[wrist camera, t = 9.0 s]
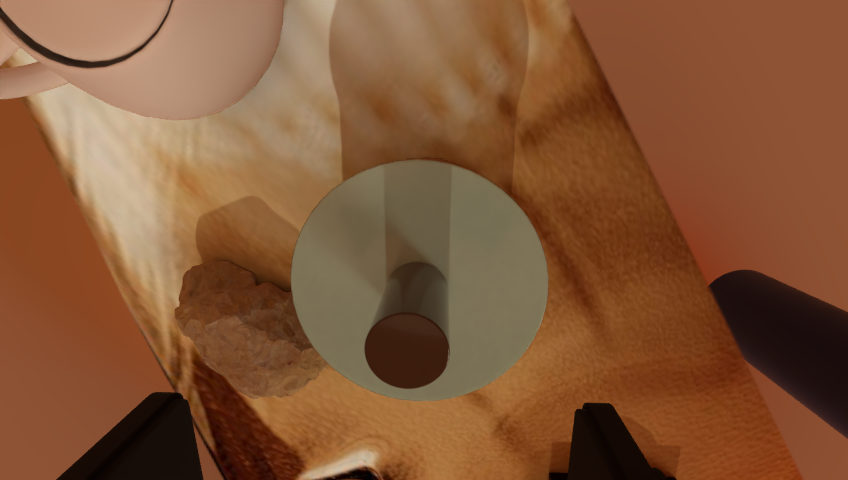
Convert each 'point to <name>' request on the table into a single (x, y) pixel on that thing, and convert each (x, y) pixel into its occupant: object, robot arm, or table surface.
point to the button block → (561, 478)
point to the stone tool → (246, 330)
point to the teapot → (142, 51)
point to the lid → (419, 280)
